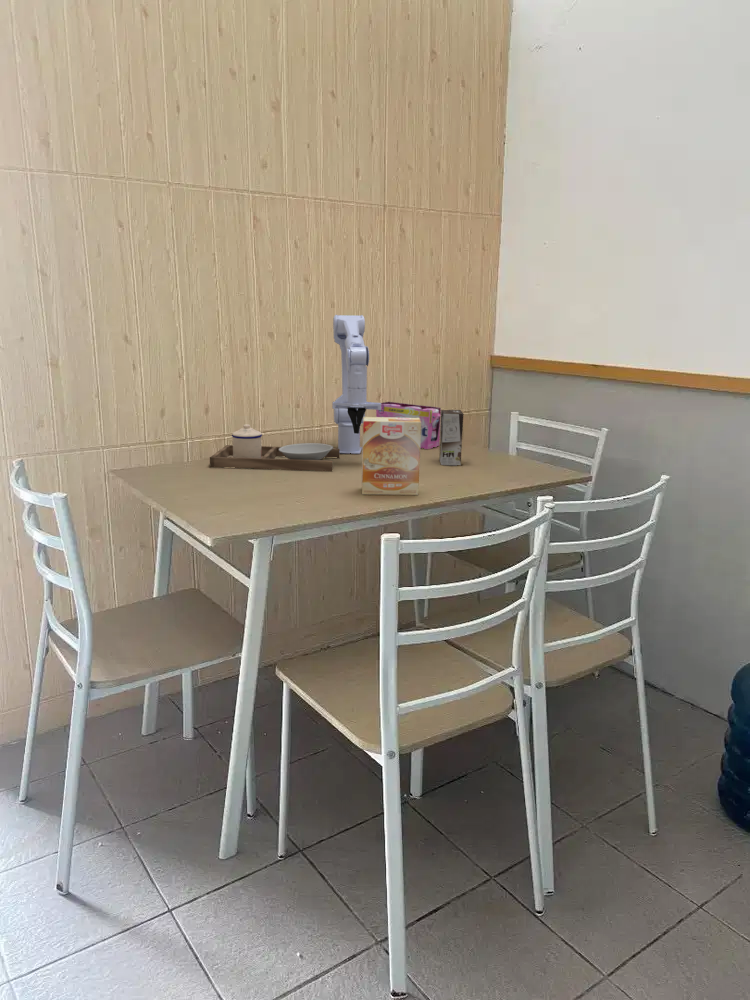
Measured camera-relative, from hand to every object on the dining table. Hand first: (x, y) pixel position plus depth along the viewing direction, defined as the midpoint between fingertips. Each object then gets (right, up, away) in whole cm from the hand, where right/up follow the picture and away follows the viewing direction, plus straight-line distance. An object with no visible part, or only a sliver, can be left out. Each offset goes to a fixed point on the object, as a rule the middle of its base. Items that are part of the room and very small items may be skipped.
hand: (356, 432), depth 227 cm
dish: (-15, -9, +3) cm, 18 cm away
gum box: (+17, -1, +37) cm, 41 cm away
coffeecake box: (+10, -18, -28) cm, 35 cm away
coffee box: (+29, -9, +8) cm, 32 cm away
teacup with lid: (-34, -9, +4) cm, 36 cm away
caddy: (-25, -9, +4) cm, 26 cm away
